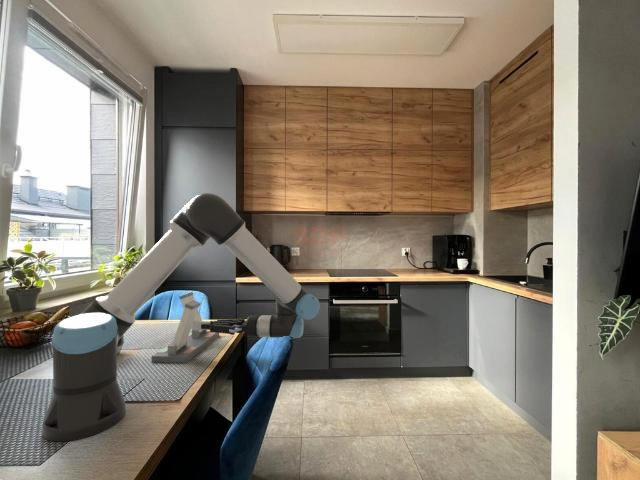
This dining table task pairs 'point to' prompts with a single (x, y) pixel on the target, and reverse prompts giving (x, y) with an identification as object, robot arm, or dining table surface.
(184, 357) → the switch base
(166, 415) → the dining table surface
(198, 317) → the far lever
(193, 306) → the near lever
